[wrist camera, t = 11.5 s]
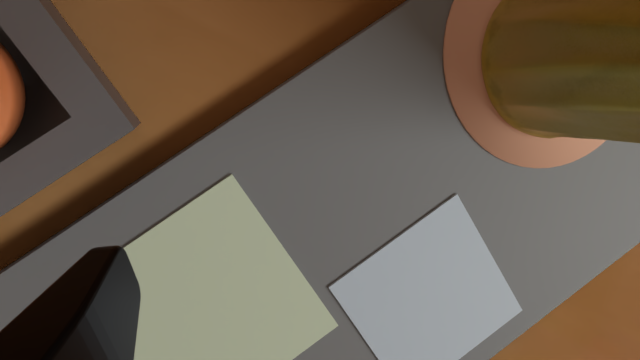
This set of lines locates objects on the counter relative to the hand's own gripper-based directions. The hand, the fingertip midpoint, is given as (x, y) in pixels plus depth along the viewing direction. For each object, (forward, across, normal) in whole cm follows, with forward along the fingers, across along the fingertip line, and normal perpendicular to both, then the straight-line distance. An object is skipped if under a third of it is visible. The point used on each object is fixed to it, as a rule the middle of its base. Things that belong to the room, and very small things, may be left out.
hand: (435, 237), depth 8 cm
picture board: (+10, -1, +9) cm, 13 cm away
